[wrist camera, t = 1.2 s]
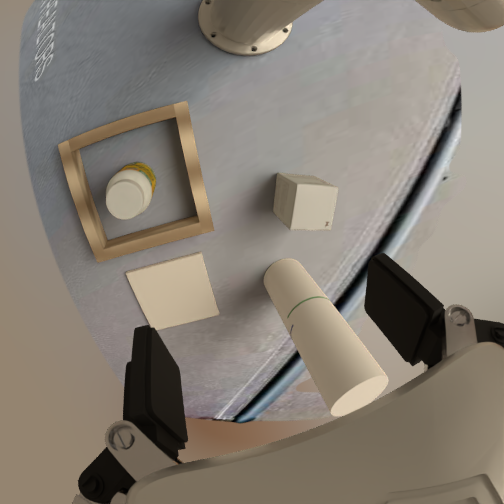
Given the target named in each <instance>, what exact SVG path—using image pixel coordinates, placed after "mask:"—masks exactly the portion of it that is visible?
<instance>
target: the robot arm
mask: <svg viewBox="0 0 504 504" xmlns="http://www.w3.org/2000/svg"><path fill="white" fill-rule="evenodd" d="M322 1H324V0H203V1H202V3H201V5H200V8H199V12H198V22H199V26H200V28H201V31H202V33H203V34H204V35H205V37H206V38H207V39H208V40H209V41H210V42H211V43H212V44H213V45H215V46H217V47H218V48H220V49H222V50H224V51H226V52H229V53H233V54H236V55H244V56H251V55H260V54H264V53H267V52H269V51H272V50H274V49H275V48H277V47H278V46H280V45H281V44H282V43H283V42H284V41H285V40H286V39H287V38H288V36H289V34H290V33H291V29H292V25H293V21H294V20H296V19H297V18H299V17H300V16H301V15H303V14H304V13H306V12H307V11H309V10H310V9H312V8H313V7H315V6H316V5H318V4H319V3H321V2H322ZM415 1H416V2H417V3H419V4H420V5H421V6H423V7H424V8H425V9H426V10H427V11H429V12H430V13H431V14H433V15H434V16H435V17H436V18H438V19H439V20H441V21H442V22H444V23H445V24H447V25H449V26H451V27H453V28H456V29H458V30H462V31H467V32H486V31H491V30H494V29H497V28H499V27H501V26H503V25H504V0H415ZM207 3H208V4H209V5H207ZM283 31H284V32H285V33H284V32H283ZM212 35H214V36H215V37H214V38H213V37H211V36H212ZM251 49H254V51H251ZM443 306H444V305H443V304H442V303H441V302H440V301H439V300H437V299H436V298H435V297H434V296H433V295H432V294H431V293H430V292H429V291H428V290H427V289H425V288H424V287H423V286H422V285H421V284H420V283H419V282H418V281H417V280H416V279H414V278H413V277H412V276H411V275H410V274H409V273H407V272H406V271H405V270H404V269H403V268H402V267H400V266H399V265H398V264H397V263H396V262H395V261H393V260H392V259H391V258H390V257H389V256H387V255H386V254H385V253H381V254H379V255H376V256H373V257H372V258H371V261H369V264H368V276H367V287H366V296H365V305H364V307H365V311H366V313H367V314H368V315H369V316H370V318H371V319H372V320H373V321H374V322H375V323H376V325H377V326H378V327H379V329H380V330H381V331H382V332H383V334H384V335H385V336H386V337H387V338H388V340H389V341H390V342H391V344H392V345H393V346H394V347H395V349H396V350H397V351H398V353H399V354H400V355H401V356H402V358H403V359H404V360H405V361H406V362H409V363H410V364H411V365H412V366H414V365H415V364H417V363H419V362H420V361H421V360H422V361H423V362H424V373H422V374H421V375H419V376H418V377H416V378H414V379H413V380H411V381H409V382H408V383H406V384H404V385H403V386H401V387H400V388H397V389H396V390H394V391H392V392H390V393H389V394H387V395H385V396H383V397H381V398H379V399H377V400H376V401H373V402H372V403H370V404H368V405H366V406H364V407H362V408H359V409H357V410H355V411H353V412H351V413H349V414H347V415H344V416H342V417H340V418H338V419H335V420H333V421H331V422H328V423H326V424H324V425H321V426H318V427H316V428H313V429H310V430H308V431H305V432H302V433H300V434H297V435H294V436H291V437H288V438H285V439H282V440H279V441H276V442H272V443H269V444H266V445H262V446H258V447H255V448H251V449H247V450H243V451H239V452H235V453H231V454H226V455H222V456H217V457H212V458H207V459H202V460H197V461H192V462H187V463H183V462H182V461H181V460H180V459H179V458H177V457H178V450H180V449H185V443H184V442H187V441H188V436H187V429H186V421H185V414H184V405H183V396H182V387H181V376H180V370H179V367H178V365H177V364H176V362H175V361H174V359H173V357H172V356H171V354H170V353H169V351H168V349H167V348H166V346H165V344H164V343H163V341H162V339H161V338H160V336H159V334H158V333H157V331H156V329H155V328H154V327H152V328H151V327H150V326H149V325H145V326H141V327H137V328H135V330H134V338H133V348H132V359H131V362H128V363H127V365H126V373H125V387H124V406H123V420H121V421H118V422H115V423H113V424H112V425H111V426H110V427H109V428H108V429H107V432H106V435H105V442H106V446H107V447H106V448H105V449H104V450H103V451H102V453H101V454H100V455H99V456H98V457H97V458H96V459H95V460H94V461H93V462H92V463H91V464H90V465H89V466H88V467H87V468H86V469H85V470H84V471H83V472H82V474H81V475H80V477H79V480H78V486H79V490H80V495H77V494H76V496H75V498H74V501H73V502H72V504H504V324H503V323H500V322H493V321H486V320H480V319H474V318H473V315H472V313H471V312H470V310H469V309H467V308H466V307H464V306H462V305H451V306H449V307H448V308H447V309H446V310H445V309H444V308H443Z"/></svg>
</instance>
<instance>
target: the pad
mask: <svg viewBox="0 0 504 504" xmlns="http://www.w3.org/2000/svg"><path fill="white" fill-rule="evenodd" d="M126 275H127V278H128V280H129V282H130V284H131V287H132V289H133V291H134V293H135V295H136V297H137V300H138V302H139V304H140V306H141V308H142V310H143V312H144V314H145V316H146V318H147V320H148V322H149V324H150V326H151V328H152V327H154V328H155V329H156V330H159V329H164V328H168V327H172V326H176V325H181V324H185V323H189V322H193V321H197V320H201V319H205V318H208V317H212V316H216V315H219V311H218V308H217V304H216V301H215V298H214V294H213V291H212V288H211V284H210V281H209V277H208V274H207V270H206V267H205V263H204V260H203V256H202V253H201V252H198V253H194V254H190V255H186V256H183V257H179V258H175V259H171V260H168V261H164V262H160V263H156V264H153V265H149V266H145V267H141V268H138V269H134V270H130V271H127V272H126Z"/></svg>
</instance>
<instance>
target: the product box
mask: <svg viewBox="0 0 504 504" xmlns="http://www.w3.org/2000/svg"><path fill="white" fill-rule="evenodd" d="M337 194H338V187H336V186H334V185H332V184H330V183H328V182H326V181H324V180H322V179H319V178H317V177H315V176H305V175H294V174H286V173H277V180H276V189H275V198H274V206H273V212H274V213H275V214H276V216H277V217H278V218H279V219H280V220H281V221H282V222H283V223H284V224H285V225H286V226H287V227H288V228H289V230H311V231H313V230H331V226H332V221H333V215H334V210H335V205H336V199H337Z"/></svg>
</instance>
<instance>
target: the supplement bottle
mask: <svg viewBox="0 0 504 504" xmlns="http://www.w3.org/2000/svg"><path fill="white" fill-rule="evenodd" d="M155 186H156V177H155V173H154V171H153V170H152V168H151V167H150V166H148V165H147V164H145V163H142V162H134V163H130V164H128V165H126V166H125V167H123V168H122V169H121V170H120V171H119V172H118V173H116V174H115V175H114V176H113V177H112V178H111V180H110V181H109V183H108V185H107V189H106V205H107V208H108V210H109V212H110V213H111V214H112V215H113V216H114V217H116V218H119V219H123V220H125V219H130V218H133V217H135V216H136V215H139V214H140V213H142V212H143V211H144V210H145V209H146V208H147V207H148V205H149V204H150V201H151V198H152V195H153V192H154V189H155Z"/></svg>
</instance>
